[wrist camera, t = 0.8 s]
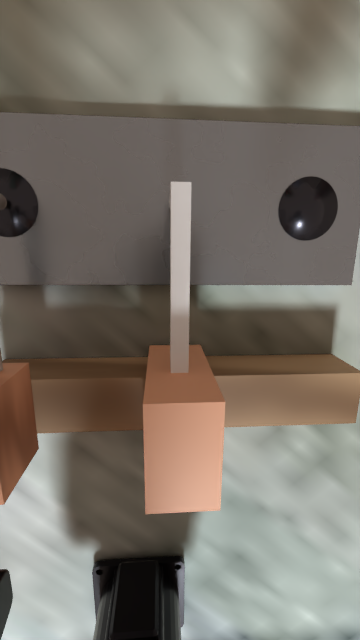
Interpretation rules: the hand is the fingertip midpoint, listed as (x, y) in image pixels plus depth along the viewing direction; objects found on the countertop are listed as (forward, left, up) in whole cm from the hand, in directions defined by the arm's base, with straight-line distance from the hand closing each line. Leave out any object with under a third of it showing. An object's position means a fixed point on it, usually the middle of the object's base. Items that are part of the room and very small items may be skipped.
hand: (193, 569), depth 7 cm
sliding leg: (+4, 0, -11) cm, 11 cm away
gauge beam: (+4, 0, -11) cm, 12 cm away
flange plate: (+10, 0, -11) cm, 15 cm away
